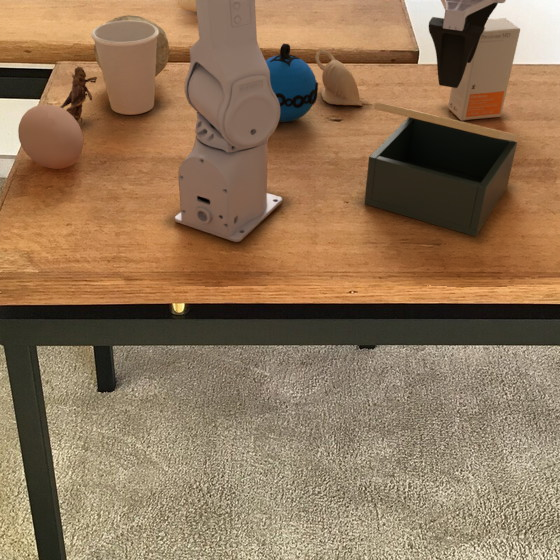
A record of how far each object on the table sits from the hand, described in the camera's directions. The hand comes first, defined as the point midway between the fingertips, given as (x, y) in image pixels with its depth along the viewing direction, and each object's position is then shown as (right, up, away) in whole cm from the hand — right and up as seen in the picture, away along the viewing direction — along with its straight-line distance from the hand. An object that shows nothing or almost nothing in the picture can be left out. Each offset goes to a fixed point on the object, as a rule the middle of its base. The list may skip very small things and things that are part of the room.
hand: (455, 72), depth 87 cm
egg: (-49, -5, +4) cm, 49 cm away
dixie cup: (-40, 0, +15) cm, 42 cm away
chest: (-2, -14, -1) cm, 14 cm away
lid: (-2, -7, -7) cm, 10 cm away
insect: (-45, -1, +12) cm, 46 cm away
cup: (-30, +25, +46) cm, 60 cm away
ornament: (-19, -3, +13) cm, 24 cm away
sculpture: (-39, +5, +22) cm, 46 cm away
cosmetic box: (+6, -1, +16) cm, 17 cm away
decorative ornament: (-12, +2, +19) cm, 23 cm away
